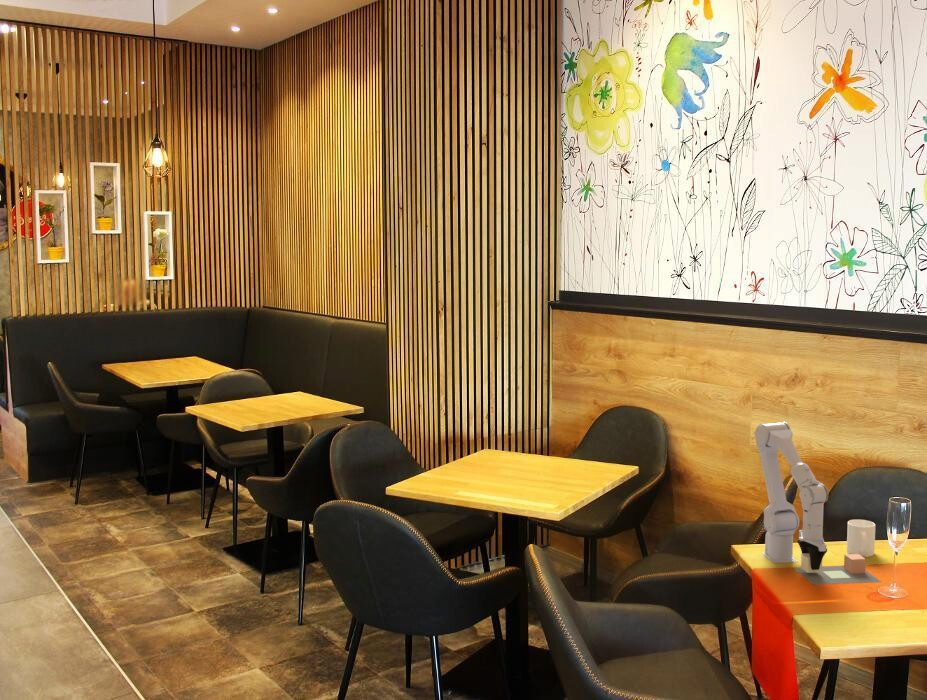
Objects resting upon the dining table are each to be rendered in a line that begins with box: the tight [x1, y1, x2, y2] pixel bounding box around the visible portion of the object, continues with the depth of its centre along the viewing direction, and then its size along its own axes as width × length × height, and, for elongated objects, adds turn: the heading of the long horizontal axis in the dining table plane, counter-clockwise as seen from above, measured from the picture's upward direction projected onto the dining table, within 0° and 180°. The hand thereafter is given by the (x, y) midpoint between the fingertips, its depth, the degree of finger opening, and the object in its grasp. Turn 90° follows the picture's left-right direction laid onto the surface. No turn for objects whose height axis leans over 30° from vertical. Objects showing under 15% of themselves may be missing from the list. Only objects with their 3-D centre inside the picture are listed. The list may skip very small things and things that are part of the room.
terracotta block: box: [843, 553, 867, 574], centre depth 286 cm, size 4×4×4 cm
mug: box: [846, 519, 876, 558], centre depth 300 cm, size 12×8×10 cm
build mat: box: [792, 565, 882, 586], centre depth 283 cm, size 14×21×1 cm, turn 95°
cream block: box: [800, 553, 823, 573], centre depth 284 cm, size 4×4×4 cm
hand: (811, 566), depth 284 cm, fingers closed on cream block, 4 cm apart
